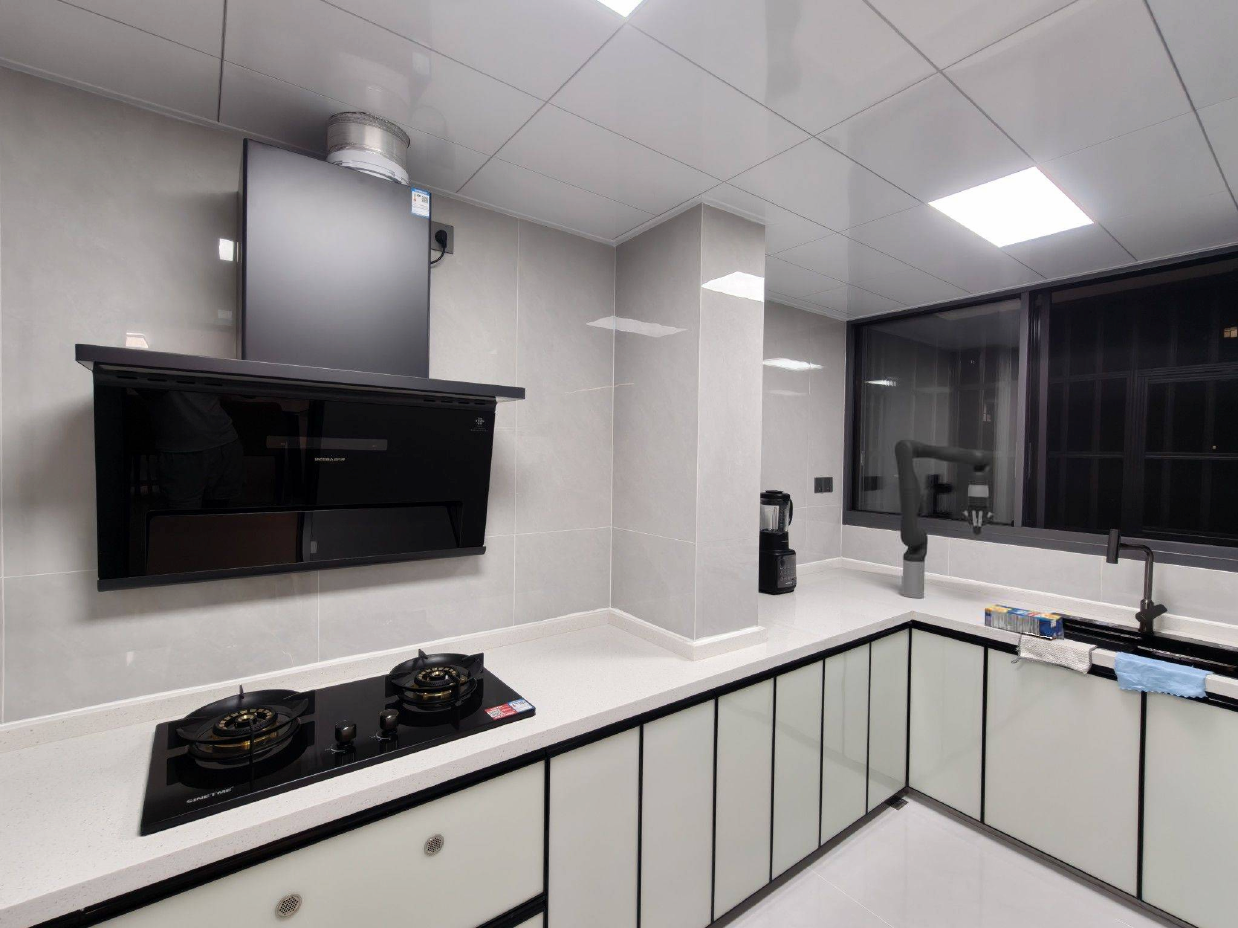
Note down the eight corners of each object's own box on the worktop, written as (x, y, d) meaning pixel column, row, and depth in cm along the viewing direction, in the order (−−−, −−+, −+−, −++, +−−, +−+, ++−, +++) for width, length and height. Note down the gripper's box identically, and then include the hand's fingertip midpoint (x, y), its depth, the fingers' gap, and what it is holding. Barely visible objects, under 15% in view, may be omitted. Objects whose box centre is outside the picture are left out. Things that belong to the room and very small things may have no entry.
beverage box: (984, 608, 223) (1050, 620, 205) (997, 604, 229) (1062, 616, 211) (984, 625, 223) (1050, 639, 205) (997, 621, 229) (1062, 634, 211)
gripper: (959, 494, 247) (958, 534, 247) (995, 496, 239) (994, 537, 239) (961, 494, 253) (960, 532, 253) (996, 495, 245) (995, 535, 245)
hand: (977, 534), depth 246 cm, fingers closed
